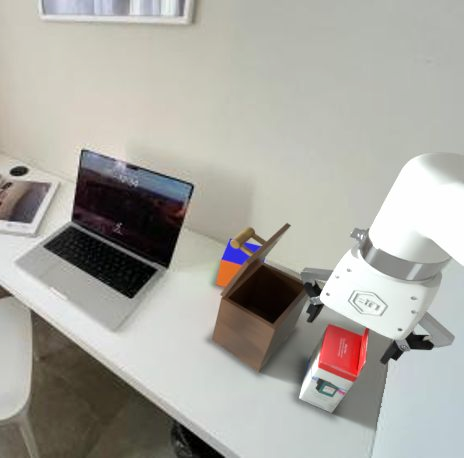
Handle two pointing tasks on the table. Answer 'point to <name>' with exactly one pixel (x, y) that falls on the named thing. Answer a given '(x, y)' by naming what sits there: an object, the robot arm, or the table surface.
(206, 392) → the table surface
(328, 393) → the ink box
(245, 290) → the chest
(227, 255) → the cube
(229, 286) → the wooden box lid
